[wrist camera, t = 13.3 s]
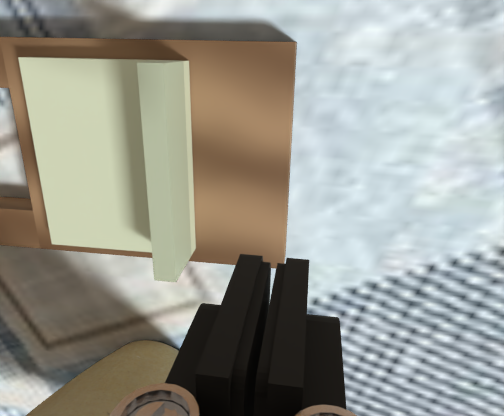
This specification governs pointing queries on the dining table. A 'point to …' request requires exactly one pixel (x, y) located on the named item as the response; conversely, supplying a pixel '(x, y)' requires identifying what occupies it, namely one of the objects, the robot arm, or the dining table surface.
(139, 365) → the plant pot
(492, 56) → the dining table surface
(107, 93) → the slide cover
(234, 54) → the well board
